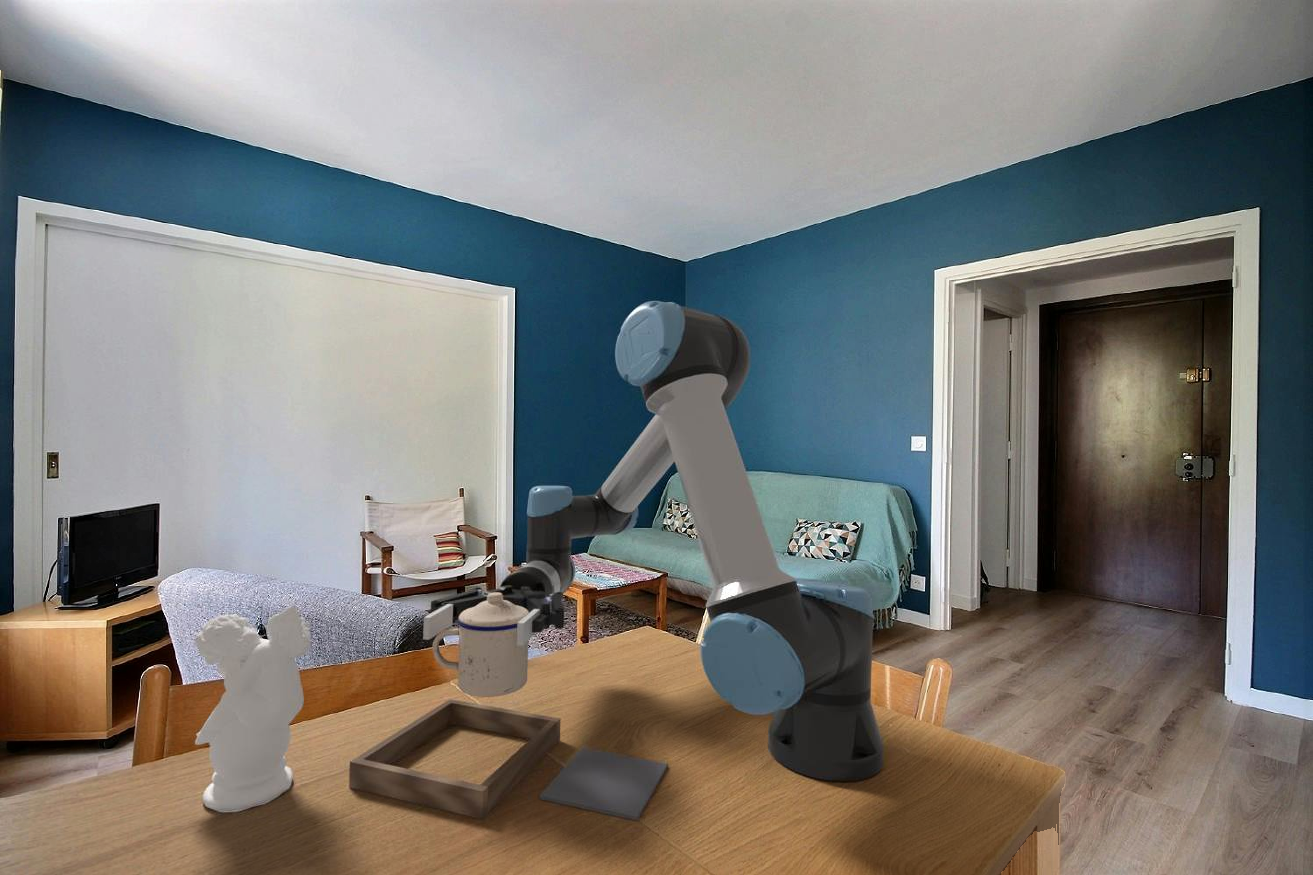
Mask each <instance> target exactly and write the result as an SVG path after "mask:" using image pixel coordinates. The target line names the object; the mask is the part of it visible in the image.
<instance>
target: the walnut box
mask: <svg viewBox="0 0 1313 875" xmlns="http://www.w3.org/2000/svg"><path fill="white" fill-rule="evenodd" d="M450 725H456V726H461V727H466V728H471V729H477V730H483V731H487V732H494V733H499V734H503V735H509V736H515V737H519V738H523V739H524V738H525V739H529V740H528V741H526V743H525V744H523V745H522V746H520V748H519V749H518V750H517V751H516V752H515V753H513V754H512V755H511V756H510V757H509V758H508V759H507V760H505V762H504V763H502V764H501V765H500V766H499V767H498V768H497V769H496V770H495V771H494V772H493V773H492V774H490V775H489V776H488V777H487V778H486V779H484V781H483V782H482V783H481V784H477V783H473V782H469V781H464V780H459V779H455V778H452V777H451V778H450V777H446V776H443V775H442V776H440V775H437V774H432V773H427V772H425V771H424V772H423V771H419V770H414V769H410V768H409V769H408V768H405V767H400V766H396V765H393V764H395V762H396V763H397V761H399V760H400V759H401V758H403V757H404V756H406V755H408V754H409V753H410V752H412V751H413V750H414V749H416V748H418V747H419V746H420V745H422V744H423V743H425V742H426V741H428V740H429V739H430V738H431V737H432V738H433V736H435V735H436V734H438V733H439V732H440V731H442V730H444V729H445V728H446V727H448V726H450ZM560 741H561V718H560V717H552V716H548V715H543V714H536V713H531V712H526V711H525V712H524V711H520V710H519V711H518V710H513V709H509V708H508V709H506V708H503V707H495V706H491V705H485V704H481V703H479V704H478V703H473V702H467V701H461V700H457V699H451V698H449V699H447V700H446V701H445V702H443V703H440V705H438V706H436V707H435V708H433V709H432V710H429V711H428V712H427V713H425V714H424V715H422V716H420V717H419V718H417V719H416V720H414V721H413V722H411V723H409V724H408V725H405V727H403V728H402V729H400V730H398V731H396V732H395V733H393V734H391V735H390V736H389V737H387V738H385V739H384V740H382V741H381V742H379V743H377V744H376V745H374V746H372V747H371V748H369V749H368V750H367V751H365V752H363V753H362V754H360V755H358V756H356V757H355V758H353V759H352V760H350V761H349V777H348V778H349V780H348V788H351V789H355V790H359V791H362V792H366V793H371V794H376V795H378V796H379V795H380V796H383V797H388V798H393V799H396V800H401V801H406V802H410V803H412V804H418V805H422V806H425V807H430V808H434V809H439V810H442V811H447V812H451V813H455V814H459V815H463V816H468V817H471V818H476V819H480V820H483V818H485V817H486V816H487V815H488V814H489V813H490V812H491V811H492V810H493V809H494V808H495V807H496V806H497V804H498V803H500V801H502V800H503V799H504V797H505V796H507V795H508V793H510V792H511V790H512V789H513V788H514V787H516V785H517V784H519V782H520V781H521V780H522V779H524V778H525V777H526V776H527V774H528V773H529V772H530V771H532V769H533V768H535V766H536V765H537V764H538V763H539V762H540V761H541V760H543V758H544V757H545V756H546V755H547V754H548V753H549V752H550V751H551V750H552V749H553V748H554V747H555V746H556V745H557V744H558V743H559V742H560Z"/></svg>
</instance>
